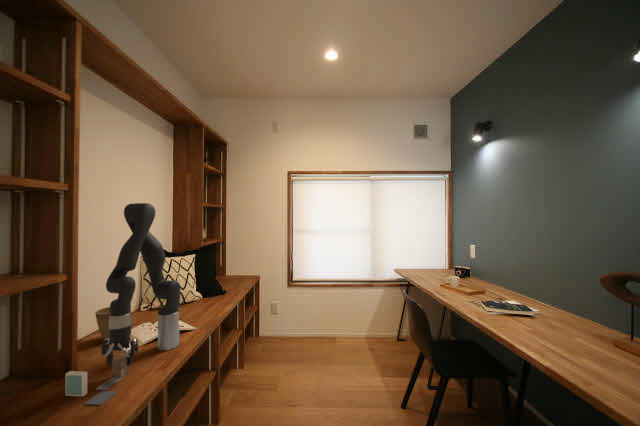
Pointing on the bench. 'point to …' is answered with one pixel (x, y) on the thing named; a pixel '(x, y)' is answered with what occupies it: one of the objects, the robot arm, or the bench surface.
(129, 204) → the robot arm
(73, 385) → the slab tile
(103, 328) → the plant pot
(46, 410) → the bench surface
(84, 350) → the bench surface
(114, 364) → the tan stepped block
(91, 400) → the mat
